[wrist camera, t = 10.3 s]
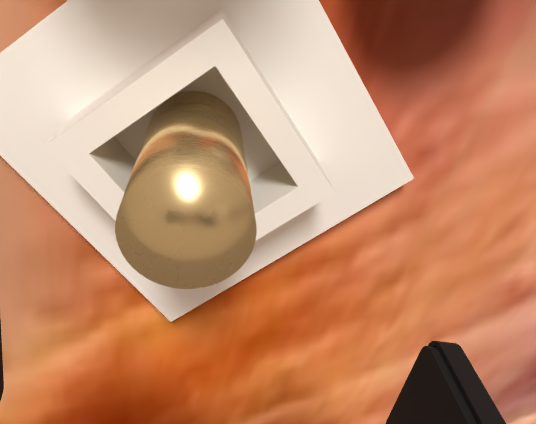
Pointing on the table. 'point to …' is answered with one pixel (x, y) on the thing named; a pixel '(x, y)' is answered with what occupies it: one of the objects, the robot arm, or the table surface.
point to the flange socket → (204, 80)
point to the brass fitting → (188, 196)
